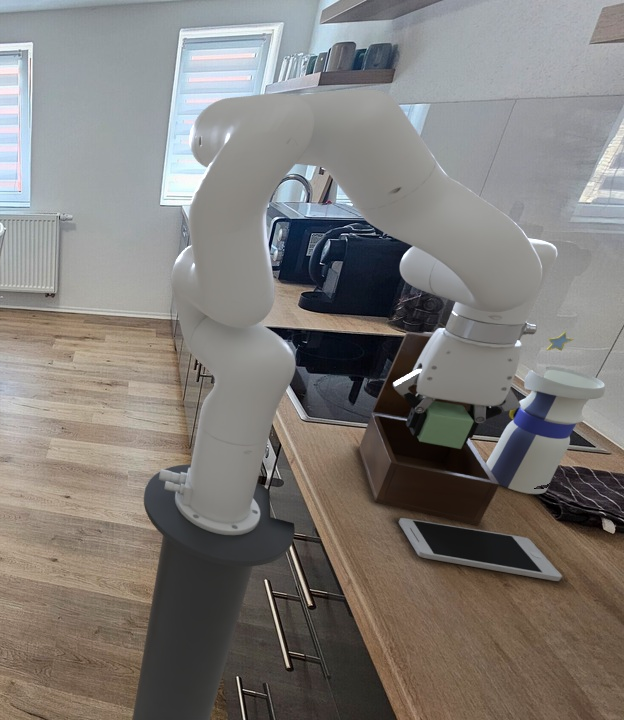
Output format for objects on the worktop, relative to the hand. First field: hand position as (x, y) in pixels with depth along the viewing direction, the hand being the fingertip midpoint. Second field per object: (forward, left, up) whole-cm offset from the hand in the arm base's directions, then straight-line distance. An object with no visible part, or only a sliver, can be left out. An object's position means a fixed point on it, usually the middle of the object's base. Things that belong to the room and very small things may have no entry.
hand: (436, 434), depth 77 cm
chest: (0, +1, -10) cm, 10 cm away
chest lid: (0, +7, +6) cm, 9 cm away
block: (0, 0, 0) cm, 0 cm away
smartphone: (+4, -13, -10) cm, 17 cm away
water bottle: (+15, +9, -11) cm, 20 cm away
